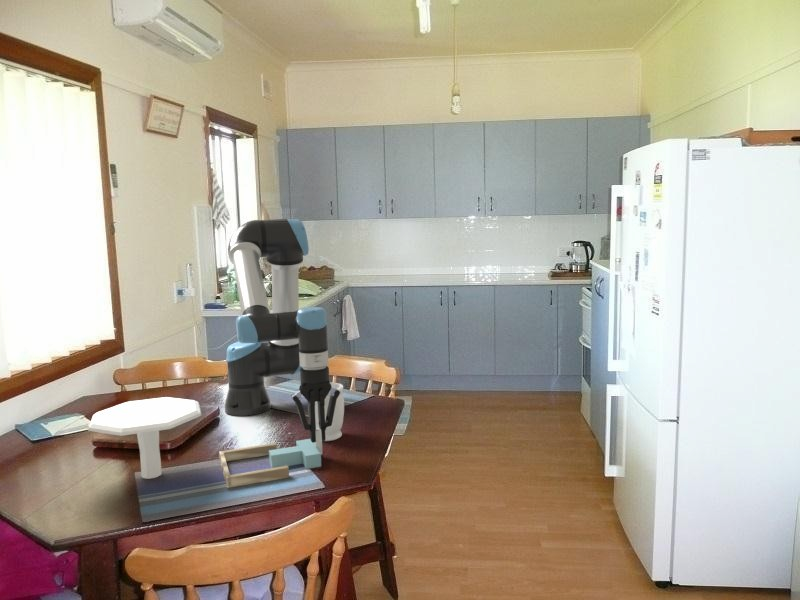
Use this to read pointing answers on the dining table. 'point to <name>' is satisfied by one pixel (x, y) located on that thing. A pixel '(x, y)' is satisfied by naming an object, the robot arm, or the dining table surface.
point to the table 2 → (146, 425)
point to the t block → (296, 455)
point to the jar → (334, 429)
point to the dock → (254, 475)
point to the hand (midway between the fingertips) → (318, 452)
